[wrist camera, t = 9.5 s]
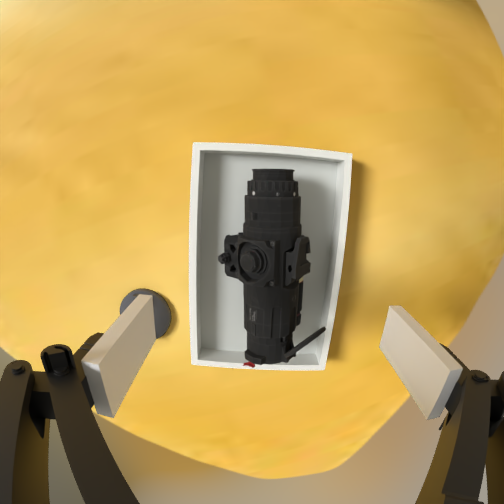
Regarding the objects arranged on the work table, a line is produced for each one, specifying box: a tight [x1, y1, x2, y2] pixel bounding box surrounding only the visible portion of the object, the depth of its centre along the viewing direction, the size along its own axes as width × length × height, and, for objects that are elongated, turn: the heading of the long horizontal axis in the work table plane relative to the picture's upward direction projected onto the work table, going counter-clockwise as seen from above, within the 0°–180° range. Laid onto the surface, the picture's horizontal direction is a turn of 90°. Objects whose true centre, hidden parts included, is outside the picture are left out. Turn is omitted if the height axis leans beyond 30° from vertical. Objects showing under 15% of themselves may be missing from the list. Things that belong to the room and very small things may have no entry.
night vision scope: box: [218, 169, 326, 368], centre depth 26 cm, size 8×18×10 cm
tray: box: [189, 142, 352, 370], centre depth 29 cm, size 22×14×3 cm, turn 177°
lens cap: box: [120, 289, 171, 339], centre depth 31 cm, size 6×6×2 cm
